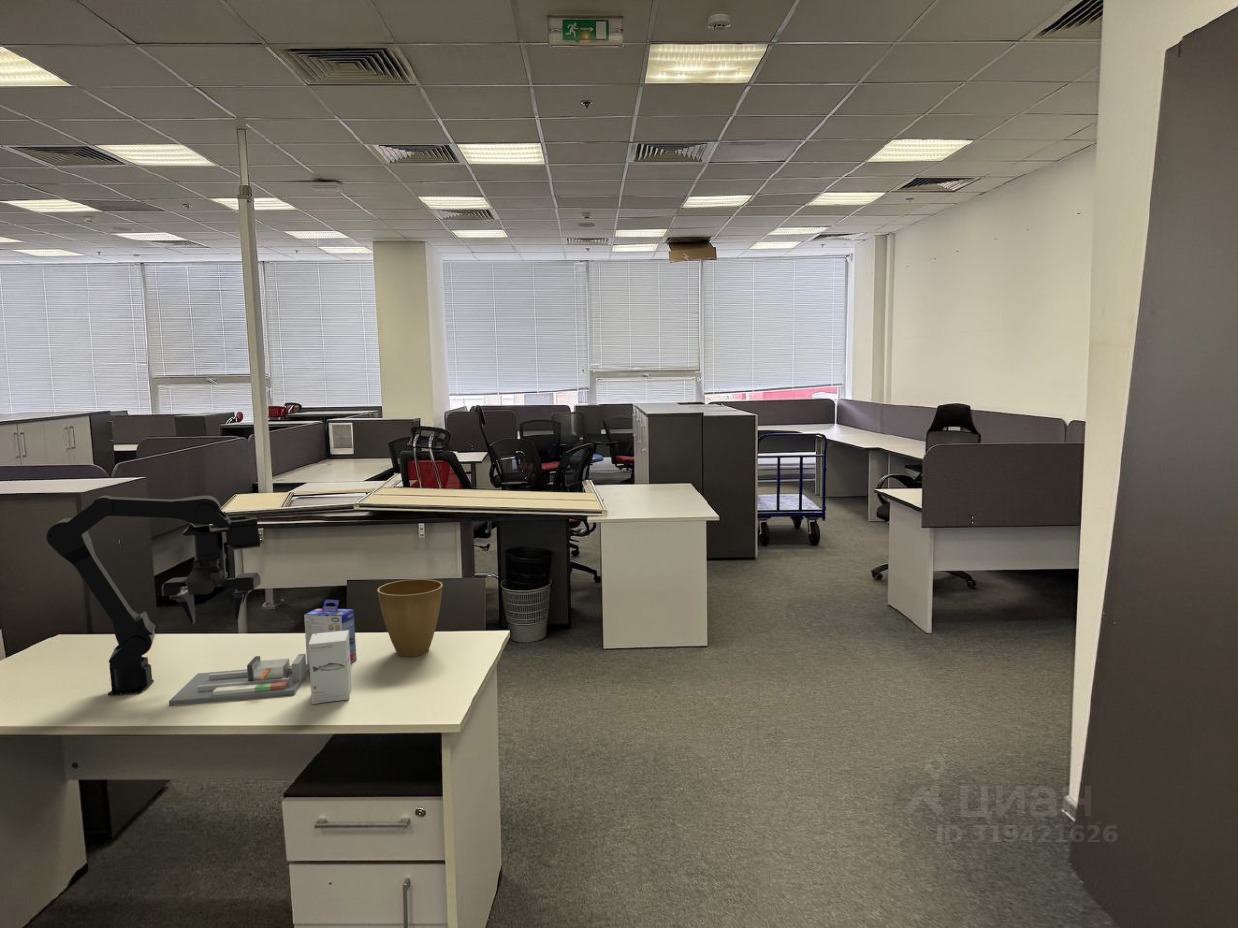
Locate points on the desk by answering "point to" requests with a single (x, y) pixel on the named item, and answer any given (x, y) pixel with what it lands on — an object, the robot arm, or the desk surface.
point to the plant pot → (411, 614)
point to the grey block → (267, 669)
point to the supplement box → (330, 666)
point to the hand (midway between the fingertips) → (215, 621)
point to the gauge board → (240, 685)
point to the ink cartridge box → (331, 624)
